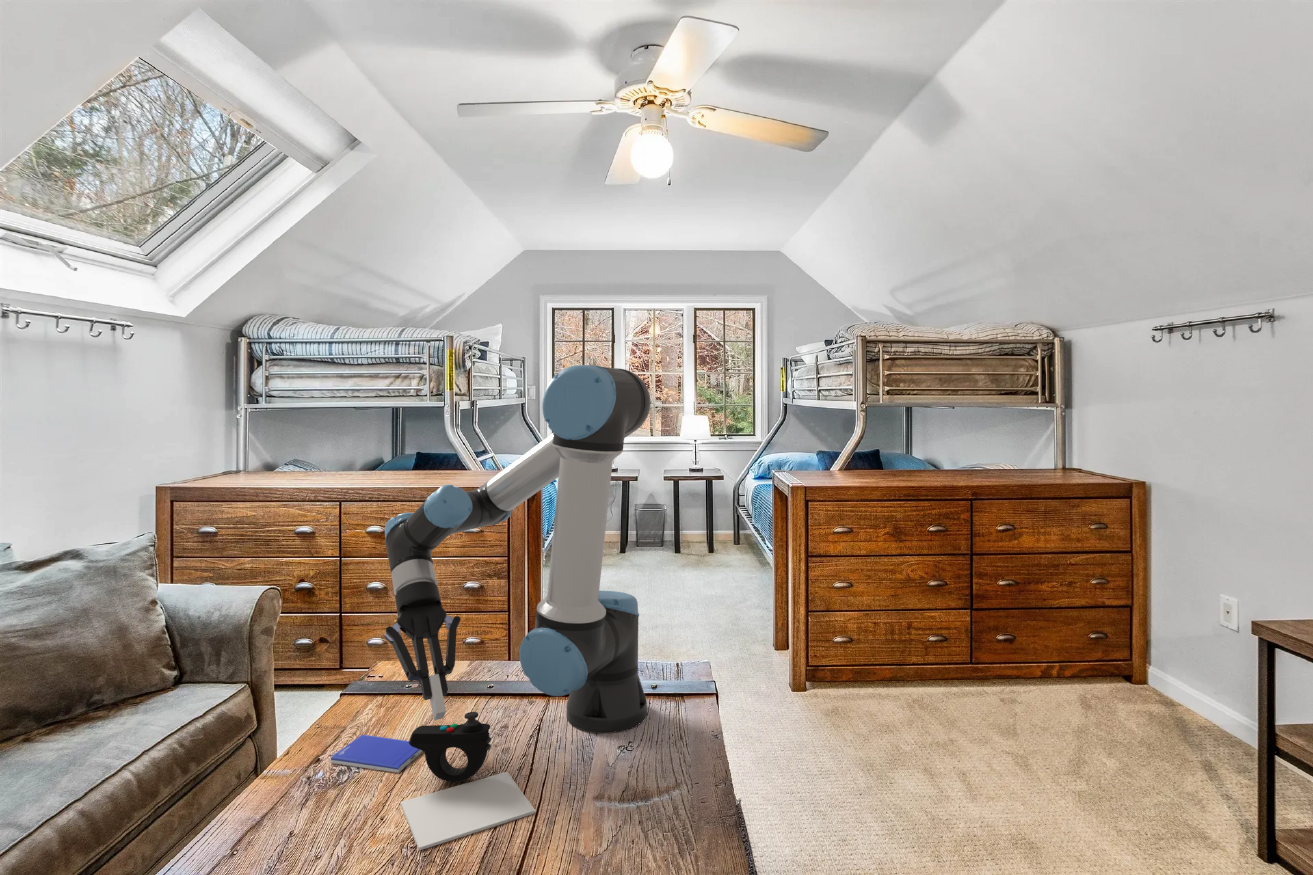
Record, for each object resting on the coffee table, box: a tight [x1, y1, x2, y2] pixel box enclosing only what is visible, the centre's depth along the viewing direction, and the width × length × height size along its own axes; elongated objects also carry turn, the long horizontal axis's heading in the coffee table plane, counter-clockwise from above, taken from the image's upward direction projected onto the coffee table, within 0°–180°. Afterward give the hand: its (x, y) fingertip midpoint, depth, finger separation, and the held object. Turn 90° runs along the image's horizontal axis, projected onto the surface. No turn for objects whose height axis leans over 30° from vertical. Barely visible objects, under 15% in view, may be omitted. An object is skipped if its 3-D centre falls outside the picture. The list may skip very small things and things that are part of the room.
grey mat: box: [399, 771, 536, 851], centre depth 98 cm, size 16×12×1 cm
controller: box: [408, 711, 492, 783], centre depth 105 cm, size 4×12×10 cm, turn 87°
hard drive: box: [330, 734, 424, 773], centre depth 113 cm, size 2×8×12 cm
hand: (439, 715), depth 110 cm, fingers closed
